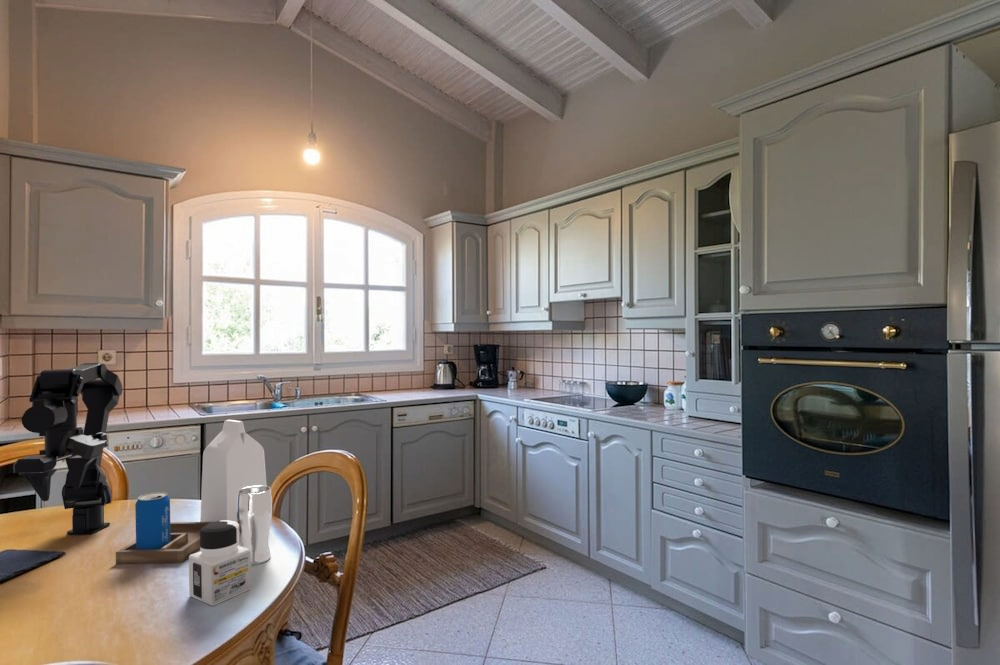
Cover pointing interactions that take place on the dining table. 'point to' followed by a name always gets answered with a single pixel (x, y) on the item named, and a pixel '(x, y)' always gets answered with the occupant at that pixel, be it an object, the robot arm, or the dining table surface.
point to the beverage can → (152, 521)
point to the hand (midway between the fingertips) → (61, 494)
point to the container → (219, 564)
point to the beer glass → (255, 521)
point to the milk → (229, 471)
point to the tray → (166, 546)
